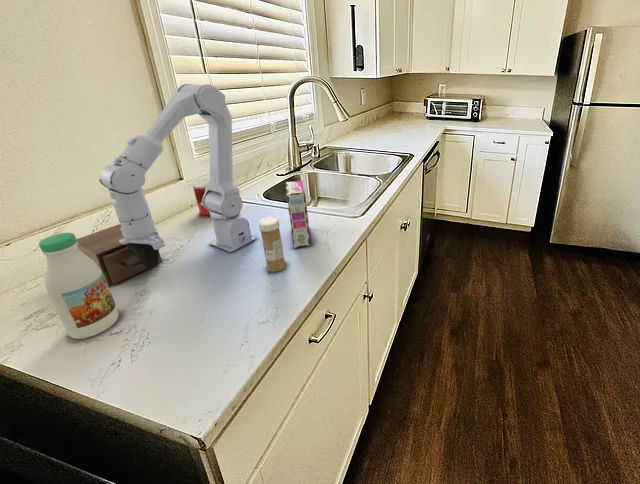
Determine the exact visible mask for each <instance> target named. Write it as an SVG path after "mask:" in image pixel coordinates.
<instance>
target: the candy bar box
mask: <svg viewBox="0 0 640 484" xmlns="http://www.w3.org/2000/svg"><path fill="white" fill-rule="evenodd" d="M285 190H286V200H287V206H288V208H287V209H288V214H289V223H290V230H291V237H292V243H293V249H299V248H305V247H310V246H312V243H311V231H310V223H309V215H308V206H307V196H306V191H305V186H304V181H303V180H292V181H286V182H285Z"/></svg>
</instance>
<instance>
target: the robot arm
mask: <svg viewBox="0 0 640 484" xmlns="http://www.w3.org/2000/svg"><path fill="white" fill-rule="evenodd" d="M195 115H198V116H199V117H201V118H202V119H203V120H204V121H206V122H207V124H208V152H209V153H208V155H209V179H210V182H209V183H208V184H207V185H206V186H205V194H204V196H203V199H202V204H203V206H204V207H205V208H206V209H207V210H209V212H210V216H211V217H210V219H211V224H212V227H213V232H214V237H215V240H212V241H211V242H210V245H212V246H214V247H217V248H219V249H222V250H225V251H227V252H229V253H232V252H234V251H236V250H238V249H240V248H242V247H244V246H246V245H247V244H249V243H252V242H254V241H255V240H256V238H255V237H254V236H252V231H251V228H250V223H249V221H248V219H246V218H245V217H243V215H242V214H241V211H242V208H243V205H244V203H243V199H242V197H241V195H240V194H241V193H240V188H238V186H237V185H236V183H235V182H234V180H233V179H234V177H233V174H234V173H233V171H234V170H233V169H234V168H233V119H232V114H231V112H230V110H229V107H228V106H227V103H226V95H225V94H224V93H223V92H222V91H221V90H220V89H219V88H218V87H216V86H215V85H212V84H209V83H208V84H193V83H183V84H181V85H180V86H178V88H177V90H176V91H174V92H173V93H171V96H170V97H169V101H168V102H167V103H166V105H165V107H164V108H163V110H161V112H160V113H159V115H158V116H157V118H156V119H155V120H154V122H153V124H151V126H150V127H149V129H148V130H147V131H146V133H142V134H136V135H135V136H134V137H129V138H128V139H127V140H126V143H127V144H128V145H126V147H125V148H124V149H123V150H122V151H121V152H120V154H119V155H118V156H117V157H115V156H114V158H113V159H112V160H111V162H113V163H111V164H108V165H106V166H104V168H103V169H102V170H101V171H100V177H99V179H98V181H99V183H100V184H101V185H102V186H103V187H104V188H106V189H107V190H108V193H109V196H110V198H111V203H112V206H113V209H114V211H115V213H116V217H117V219H118V222H119V224H120V225H121V227H122V228H120V229H121V232H122V235H124V238H122V239H120V240H119V242H120V243H121V244H127V243H128V244H127V245H126V247H127V248H129V249H130V250H131V251H133V252H134V253H135V254H136V256H137V257H138V258H139V259H140V261H141V262H142V264H143V265H144V266H145V267H146V268H147V269H146V270H152V269H154V268H156V267H158V266H159V263H158V253H160V249H161V248H164V247H166V244H165V241H164V238H163V237H161V235H160V233H159V230H158V229H157V228H156V226H155V222H154V219H153V216H152V213H151V210H150V207H149V204H148V200H147V198H146V194H145V192H144V189H143V187H144V185H145V183H146V174H147V172H148V171H149V170H150V168H151V167H152V166H153V165H154V163H155V162H156V161H157V159H158V158H159V157H160V156H161V154H162V153H163V152H164V147H163V142H164V141H165V140H166V139H167V137H168V136H169V135H170V134H171V133H172V132H173V131H174V130H175V128H176V127H177V126H179V124H180V123H181V122H182V121H183V119H184V118H187V117H190V116H195Z"/></svg>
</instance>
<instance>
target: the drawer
mask: <svg viewBox="0 0 640 484" xmlns="http://www.w3.org/2000/svg"><path fill="white" fill-rule="evenodd" d="M100 257H101V259H102V262H103V264H104V267H105V269H106V272H107V274H108V277H109V278H110V280H111V282H112V283H113V285H115V284H117V283H119V282H122V281H123V280H126V279H128V278H130V277H132V276H134V275H136V274H138V273H140V272H143V271H145V270H148V269H147V268H146V267H145V266H144V265H143V264H142V262H141V261H140V259H139V258H138V257H137V256H136V254H135V253H134V252H133V251H131V250H130V249H129V248H127V247H125V248H122V249H120V250H117V251H115V252H113V253H111V251H110V252H108V253H105V254H103V255H100ZM162 262H163V260H162V257H161V253H160V252H159V253H158V264H159V263H162Z"/></svg>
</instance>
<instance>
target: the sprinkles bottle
mask: <svg viewBox="0 0 640 484" xmlns="http://www.w3.org/2000/svg"><path fill="white" fill-rule="evenodd" d="M258 228H259V231H260V233H261V239H262V246H263V253H264V258H265V262H266V270H267V271H268V272H270V273H275V272H276V273H277V272H279V271H280V272H281V270H283V269H284V268H285V267H286V262H285V255H284V253H285V252H284V247H283V242H282V241H283V240H282V236H281V231H280V221H279V218H278V217H275V216H267V217H264V218H261V219H260V220H259V221H258Z"/></svg>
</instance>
